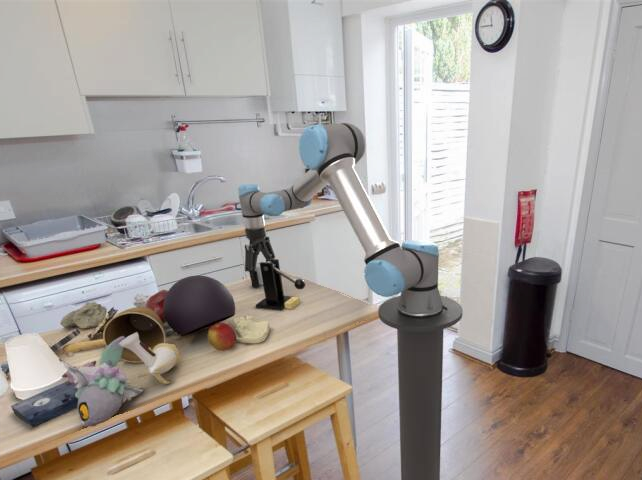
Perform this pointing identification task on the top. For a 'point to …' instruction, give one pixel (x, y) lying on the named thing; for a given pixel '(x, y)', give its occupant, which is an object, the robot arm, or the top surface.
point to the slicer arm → (289, 277)
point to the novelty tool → (95, 344)
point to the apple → (221, 336)
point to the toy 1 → (64, 340)
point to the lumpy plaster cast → (250, 330)
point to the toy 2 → (100, 386)
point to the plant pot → (135, 330)
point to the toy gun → (153, 356)
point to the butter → (292, 302)
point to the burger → (103, 323)
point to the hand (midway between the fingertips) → (263, 281)
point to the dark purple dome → (197, 304)
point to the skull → (141, 300)
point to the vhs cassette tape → (46, 404)
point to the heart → (157, 304)
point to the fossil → (85, 316)
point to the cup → (32, 365)
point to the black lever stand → (272, 287)
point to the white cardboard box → (259, 273)
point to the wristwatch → (5, 368)
